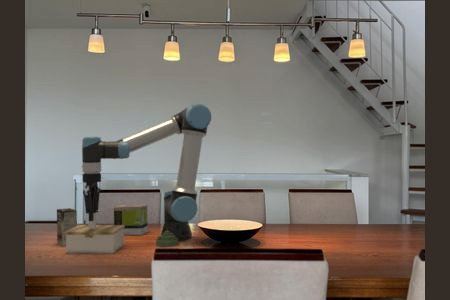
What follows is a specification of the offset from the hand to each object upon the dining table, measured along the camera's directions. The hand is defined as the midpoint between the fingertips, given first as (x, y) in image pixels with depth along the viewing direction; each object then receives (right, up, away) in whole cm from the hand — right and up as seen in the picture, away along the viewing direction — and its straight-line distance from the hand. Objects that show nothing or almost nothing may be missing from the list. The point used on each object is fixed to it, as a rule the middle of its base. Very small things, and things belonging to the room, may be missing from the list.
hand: (92, 228), depth 163 cm
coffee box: (-17, -11, +15) cm, 25 cm away
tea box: (+7, -11, +37) cm, 40 cm away
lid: (0, -3, +4) cm, 5 cm away
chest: (0, -10, +4) cm, 11 cm away
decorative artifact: (+30, -10, +11) cm, 34 cm away
